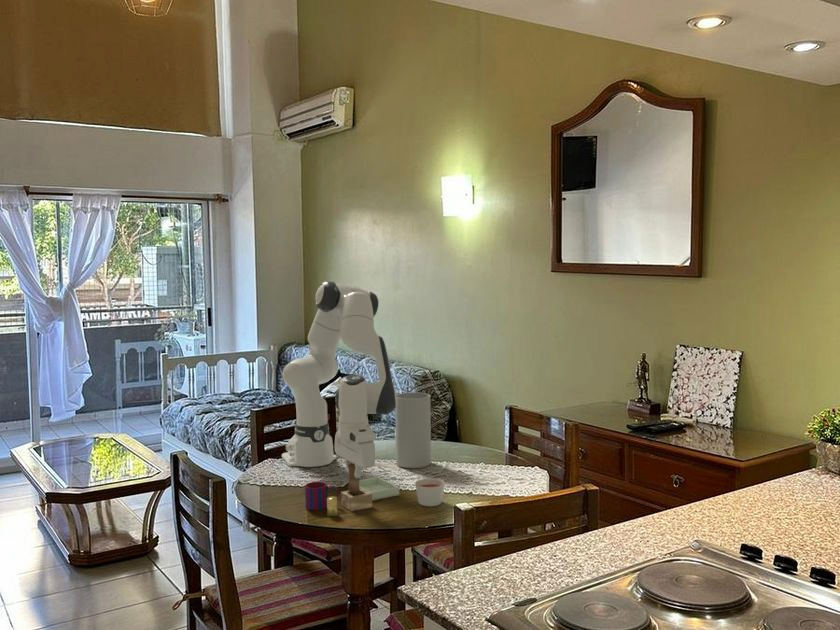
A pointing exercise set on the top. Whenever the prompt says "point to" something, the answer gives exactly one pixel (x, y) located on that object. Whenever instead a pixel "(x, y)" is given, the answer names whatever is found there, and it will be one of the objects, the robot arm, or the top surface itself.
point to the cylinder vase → (413, 430)
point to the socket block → (356, 500)
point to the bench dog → (332, 506)
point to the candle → (430, 491)
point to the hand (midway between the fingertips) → (353, 475)
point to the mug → (317, 495)
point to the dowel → (353, 480)
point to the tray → (379, 488)
